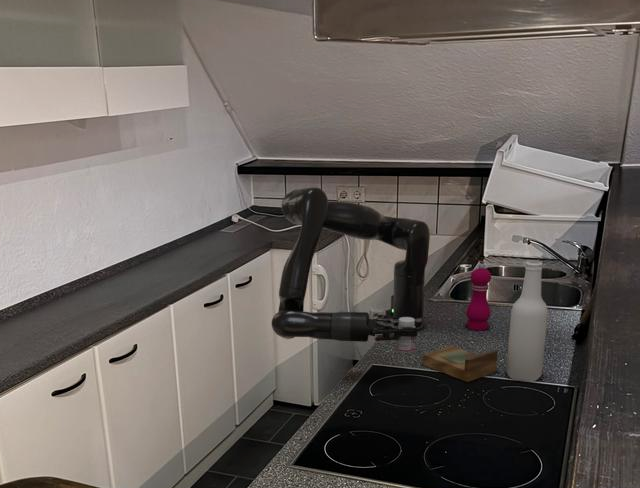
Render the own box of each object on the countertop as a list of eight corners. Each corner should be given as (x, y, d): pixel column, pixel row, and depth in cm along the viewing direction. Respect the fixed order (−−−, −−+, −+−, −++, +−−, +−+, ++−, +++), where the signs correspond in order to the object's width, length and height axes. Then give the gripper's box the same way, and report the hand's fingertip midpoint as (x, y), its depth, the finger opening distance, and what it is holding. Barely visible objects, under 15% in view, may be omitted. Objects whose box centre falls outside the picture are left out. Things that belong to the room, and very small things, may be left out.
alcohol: (541, 383, 192) (553, 267, 181) (505, 380, 195) (515, 265, 184) (541, 370, 200) (553, 258, 189) (506, 368, 203) (516, 257, 192)
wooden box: (422, 364, 207) (423, 343, 205) (450, 355, 213) (451, 335, 210) (467, 382, 194) (468, 360, 192) (496, 372, 200) (497, 350, 198)
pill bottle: (414, 354, 193) (415, 322, 190) (395, 353, 194) (396, 321, 191) (415, 347, 197) (416, 316, 194) (396, 346, 198) (397, 315, 195)
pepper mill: (485, 332, 230) (490, 267, 223) (462, 328, 234) (466, 264, 226) (492, 325, 236) (497, 262, 228) (469, 322, 239) (473, 259, 232)
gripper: (347, 321, 188) (417, 323, 185) (352, 304, 201) (418, 305, 198) (347, 350, 191) (416, 352, 188) (352, 331, 204) (416, 333, 201)
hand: (416, 328), depth 193 cm, fingers closed on pill bottle, 4 cm apart
